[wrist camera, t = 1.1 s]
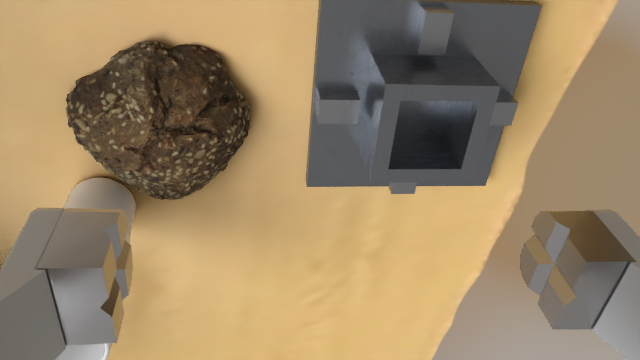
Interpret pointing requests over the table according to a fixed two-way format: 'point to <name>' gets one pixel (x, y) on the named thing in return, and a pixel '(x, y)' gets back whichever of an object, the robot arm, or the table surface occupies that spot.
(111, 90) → the bread roll
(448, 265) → the table surface
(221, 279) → the table surface
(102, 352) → the drinking glass
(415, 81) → the hollow box on baseplate
